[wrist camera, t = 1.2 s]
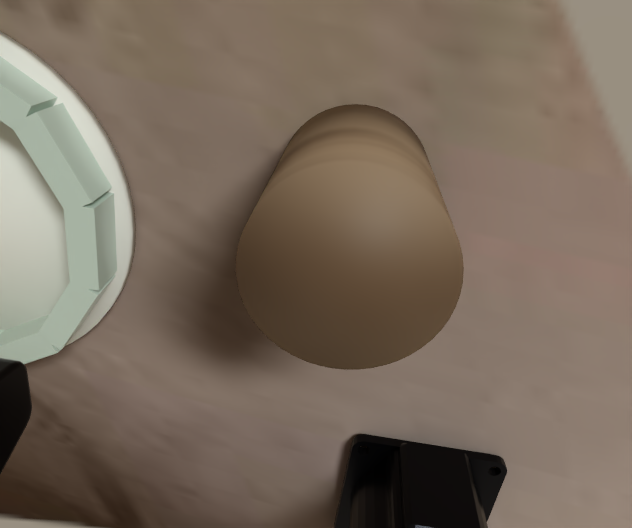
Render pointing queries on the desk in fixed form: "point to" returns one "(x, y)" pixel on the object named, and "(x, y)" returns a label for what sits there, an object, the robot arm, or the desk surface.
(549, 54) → the desk surface
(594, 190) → the desk surface
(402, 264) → the brown domed cylinder
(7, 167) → the ring dish
